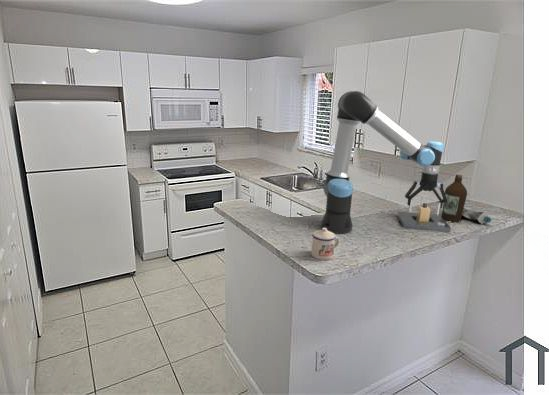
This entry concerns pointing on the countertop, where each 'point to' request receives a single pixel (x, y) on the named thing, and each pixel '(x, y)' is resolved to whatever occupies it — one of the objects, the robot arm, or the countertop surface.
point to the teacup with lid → (323, 244)
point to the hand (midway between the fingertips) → (423, 212)
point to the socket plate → (434, 222)
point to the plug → (423, 213)
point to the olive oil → (454, 200)
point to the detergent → (476, 215)
